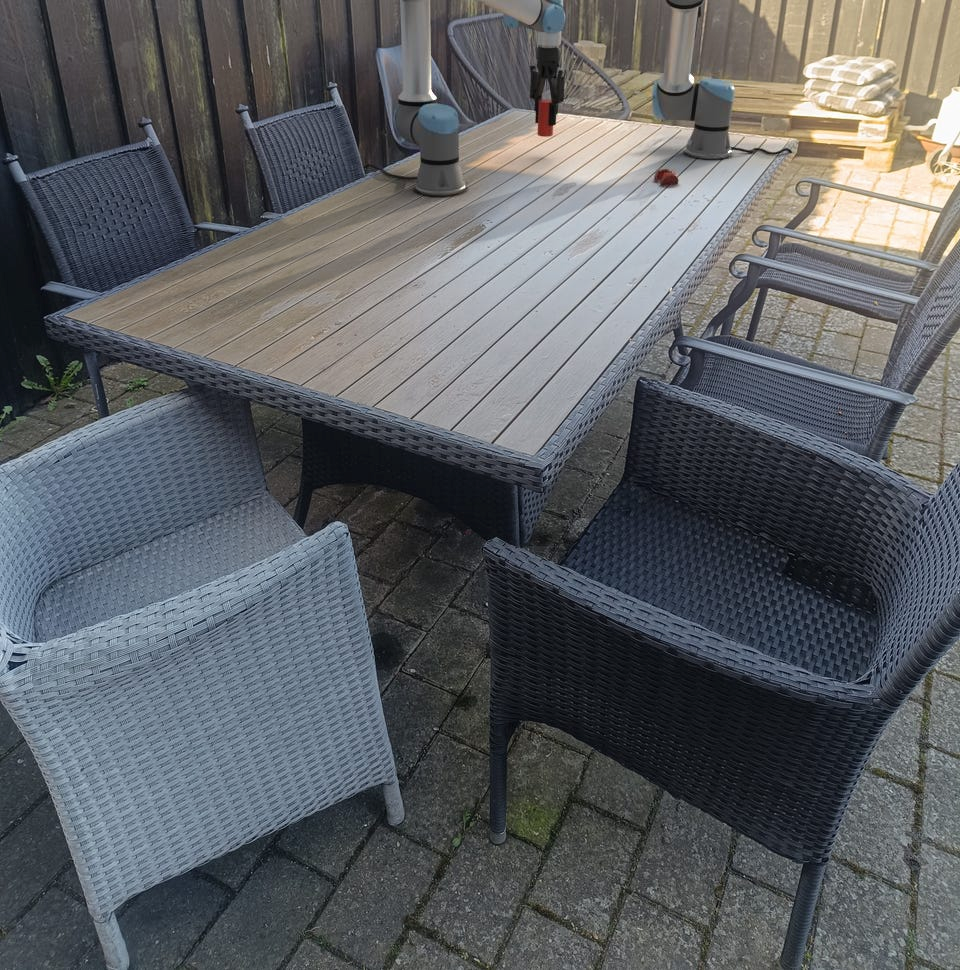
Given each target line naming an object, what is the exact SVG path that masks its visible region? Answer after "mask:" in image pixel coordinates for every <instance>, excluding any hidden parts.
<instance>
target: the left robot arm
mask: <svg viewBox="0 0 960 970" xmlns="http://www.w3.org/2000/svg"><path fill="white" fill-rule="evenodd" d="M474 1H475V2H477V3H480V4H481V5H484V6H486V7H488V8H490V9H493V10H494V11H497V12H499V13H501V14H503V21H504V24H505V25H506V27H507V28H509V29H519V28H522V29H528V30H533V31H537V36H536V44H537V47H536V60H537V62H536V64H531V65H530V66H529V71H530V83H529V98H530V99H532V100H533V101H534V108H533V110H534V112H535V116H534V117H535V119H534V120H535V121H534V122H535V124H538V107H539V100H543V94H544V89H545V85H546V82H548V85H549V93H550V100H551V101H552V103H550V111H549V126H553V127H554V126H556V125H557V116H558V114H559V104H562V103H564V102H565V77H566V74H567V70H566V69H563V68H562V67H560V60H561V47H560V45H562V29H564V26H565V23H566V13H565V10H564V0H474ZM399 10H400V11H399V12H400V13H399V15H400V38H401V39H400V40H401V41H400V43H401V71H402V73H401V75H402V91H401V93H400V94H399V95H398V96H397V101H398V102H397V103H398V104H397V106H396V108H395V109H394V111H393V116H392V121H393V122H392V123H393V126H394V129H395V131H396V133H397V134H398V135H399V136H400V137H401V138H402V139H404V141H406V142H408V143H410V144H413V145H415V146H417V147H419V157H420V158H419V159H420V161H419V162H420V164H419V168H418V172H417V176H403V175H402V176H401V175H398V174H393V173H389V172H387V170H385V169H384V168H383V167H380V166H378V165H375V164H373V163H367V164H366V163H365V165H364V166H363V169H367V168H368V167H371V168H373V169H376V170H379V171H380V172H382V173H383V174H384V175H386V176H388V177H392V178H395V179H401V180H406V181H415V185H414V186H415V192H417V193H418V194H420V195H424V196H430V197H450V196H455V195H459V194H461V193H463V192H464V191H466V181H465V179H464V172H462V169H461V165H460V141H459V140H460V139H459V137H460V135H459V134H460V132H459V129H460V121H459V114H458V111H457V110H456V109H455V108H454V107H452V106H451V105H449V104H442V103H437V102H438V101H437V99H438V98H437V95H435V93H433V91H432V41H431V37H432V36H431V35H432V34H431V0H399ZM382 170H383V171H382Z"/></svg>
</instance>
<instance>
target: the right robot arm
mask: <svg viewBox="0 0 960 970" xmlns="http://www.w3.org/2000/svg"><path fill="white" fill-rule="evenodd" d="M665 3H666V5H667V6H668V7H669V13H668V23H667V33H666V44H665V55H664V63H663V73H661V74H660V75H659V77H658V80H657V81H654V83H653V86H652V114H653V116H654V118H655V119H658V120H664V121H683V122H684V121H685V122H694V125H693V130H692V133H691V135H690V137H689V138H688V140H687V141H686V146H685V151H684V152H685V154H686V155H687V156H689V157H692V158H696V159H701V160H721V159H726V158H729V157H730V156H731V154H732V153H731V152H732V150H733V151H738V152H743V153H748V154H751V153H753V152H756V151H758V152H762V153H764V154H766V155H770V156H771V155H772V156H775V155H780V154H782V153H784V152H788V153H789V154H792V153H793V151H792V150H791V149H790V148H789V147H784V148H782V149H780V150H777V151H770V150H769V151H768V150H766V149H764V148H762V147H754V148H752V149H745V148H740V147H735V146H731V139H730V133H729V132H730V131H729V130H730V125H731V119H732V111H733V105H734V103H735V91H736V89H735V87H734V85H733V84H732V83H730V82H728V81H726V80H722V79H717V78H710V77H709V78H708V77H703V78H701V79H700V81H699V83H698V82H695V79H694V76H693V75H692V74H691V69H692V63H693V62H692V61H693V54H694V46H695V40H696V36H697V28H698V22H699V18H701V17H702V6H703V4H704V3H705V0H665Z"/></svg>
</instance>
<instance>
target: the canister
mask: <svg viewBox="0 0 960 970" xmlns="http://www.w3.org/2000/svg"><path fill="white" fill-rule="evenodd" d="M550 103H552V101H551V99H548V98H546V99H543V98H542V100H539V107H538V123H537V136H539V137H545V138H546V137H549V138H550V137H552V136H554V125H553V126H549V111H550Z"/></svg>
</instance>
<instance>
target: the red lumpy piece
mask: <svg viewBox="0 0 960 970" xmlns="http://www.w3.org/2000/svg"><path fill="white" fill-rule="evenodd" d="M678 177H679V176H677V173H676V171H673V170H670V169H669V168H660V169H657V170H656V172H655V174H654V178H653V181H654V182H659V181H660V183H659V184H660V186H661V187H664V186H665V187H667V186H677V185H679V178H678Z"/></svg>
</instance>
